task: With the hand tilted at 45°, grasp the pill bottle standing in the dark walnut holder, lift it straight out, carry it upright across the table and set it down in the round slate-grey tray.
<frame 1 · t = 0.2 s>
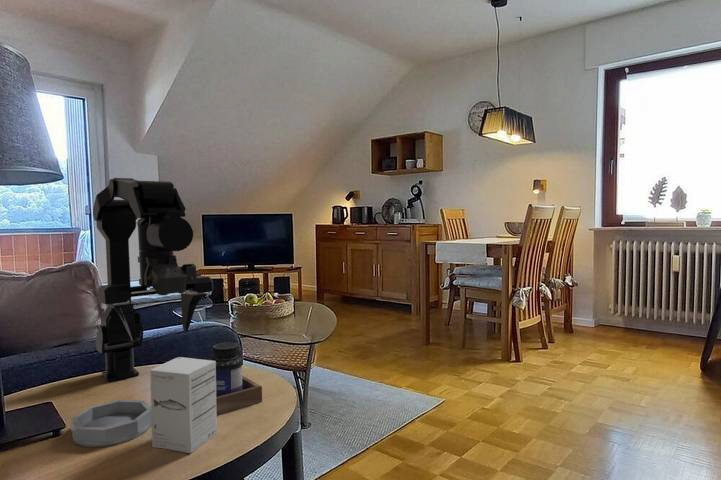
hand: (160, 336, 87), 14 cm above the table, tool pointing down, fingers open, 9 cm apart
holder: (226, 400, 93), on the table
pill bottle: (226, 401, 93), resting in holder
supplement box: (185, 442, 77), on the table
tray: (113, 429, 81), on the table
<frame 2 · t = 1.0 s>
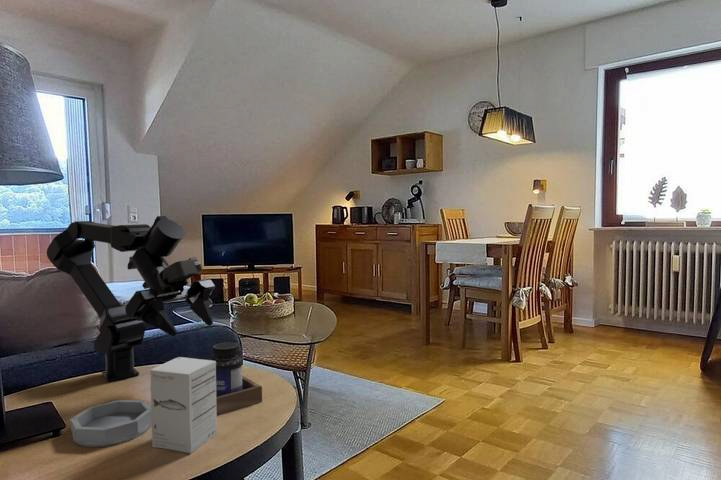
hand: (194, 329, 96), 13 cm above the table, tool tilted 45°, fingers open, 9 cm apart
nothing on the table moved.
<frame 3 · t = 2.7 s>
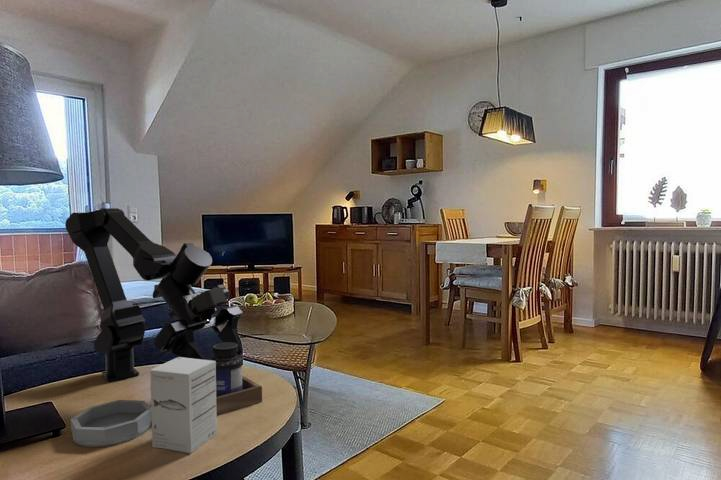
hand: (224, 360, 93), 8 cm above the table, tool tilted 45°, fingers open, 9 cm apart
nothing on the table moved.
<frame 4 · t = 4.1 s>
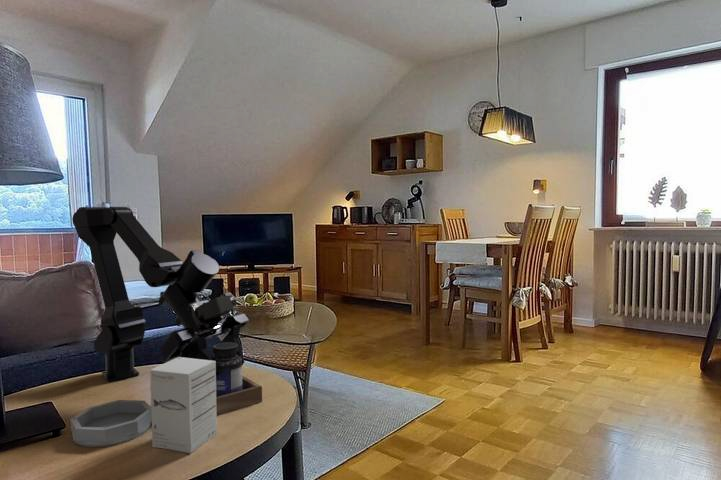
hand: (231, 368, 92), 7 cm above the table, tool tilted 45°, fingers closed on pill bottle, 6 cm apart
pill bottle: (226, 401, 93), resting in holder, touching gripper
everything else where it was.
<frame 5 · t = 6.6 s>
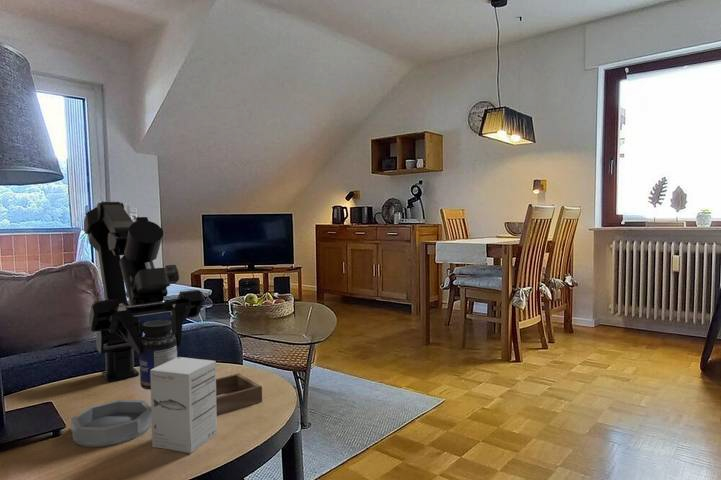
hand: (160, 349, 83), 13 cm above the table, tool tilted 45°, fingers closed on pill bottle, 6 cm apart
pill bottle: (159, 385, 84), point 6 cm above the table, touching gripper
everything else where it was.
when the fingers open (9 cm above the table, at t = 9.2 s): pill bottle drops 1 cm, resting on tray.
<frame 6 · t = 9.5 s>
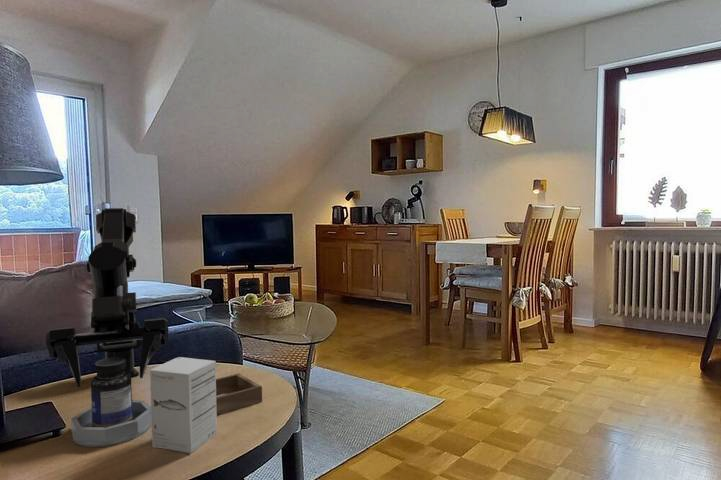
hand: (110, 381, 79), 9 cm above the table, tool tilted 45°, fingers open, 9 cm apart
pill bottle: (113, 426, 81), point 1 cm above the table, touching tray
everything else where it was.
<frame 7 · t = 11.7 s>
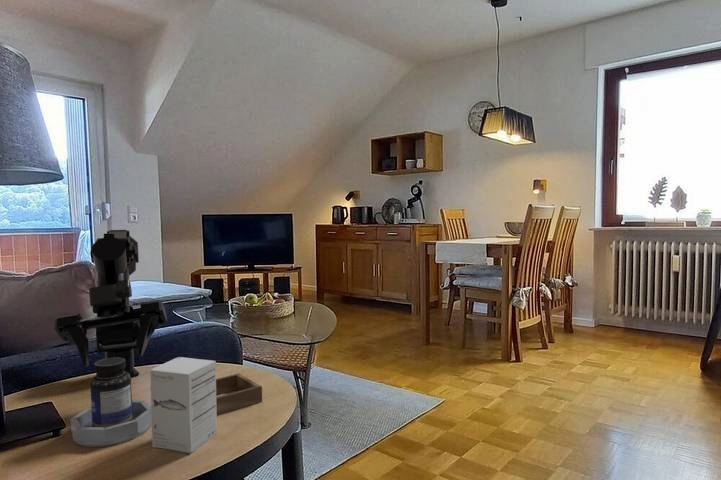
hand: (113, 360, 88), 10 cm above the table, tool tilted 40°, fingers open, 9 cm apart
nothing on the table moved.
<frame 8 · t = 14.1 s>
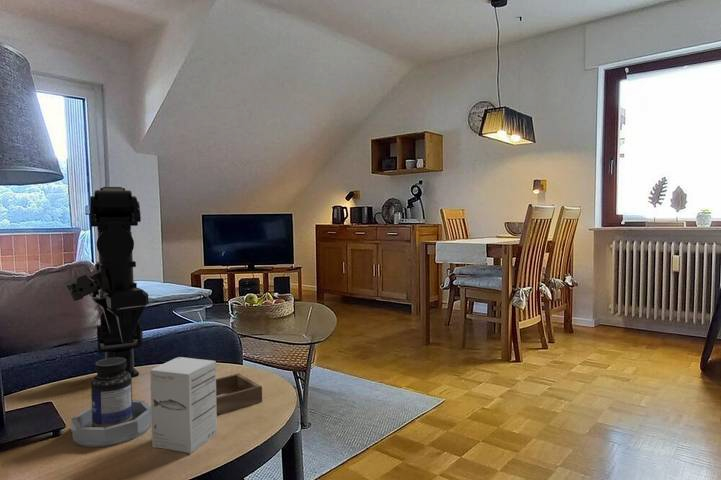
hand: (119, 337, 91), 13 cm above the table, tool pointing down, fingers open, 9 cm apart
nothing on the table moved.
at the end: pill bottle 0.2 cm off-centre on the tray, point 0.6 cm above the tray's base; pill bottle tilted 0°; the gripper is holding nothing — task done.
